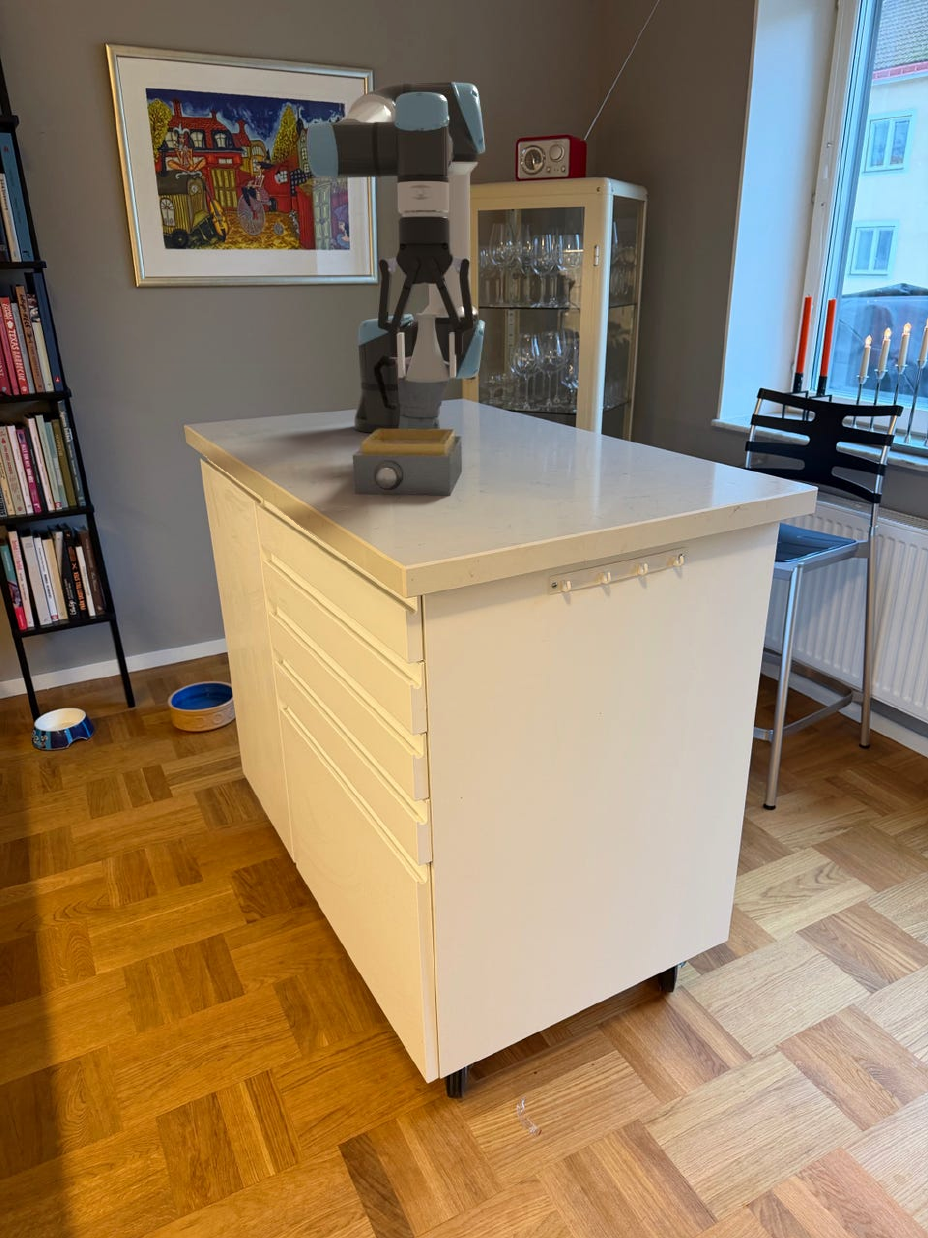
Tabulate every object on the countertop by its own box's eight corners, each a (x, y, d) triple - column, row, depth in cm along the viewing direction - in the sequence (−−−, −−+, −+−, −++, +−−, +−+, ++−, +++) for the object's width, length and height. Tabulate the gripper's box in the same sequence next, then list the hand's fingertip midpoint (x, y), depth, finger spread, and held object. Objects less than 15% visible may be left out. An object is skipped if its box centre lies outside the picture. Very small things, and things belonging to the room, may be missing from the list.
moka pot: (451, 465, 153) (450, 347, 146) (368, 462, 156) (363, 346, 149) (462, 454, 162) (461, 343, 155) (383, 451, 165) (379, 342, 157)
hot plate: (376, 469, 150) (374, 426, 147) (461, 471, 149) (461, 427, 146) (351, 497, 132) (348, 448, 129) (448, 499, 131) (447, 449, 128)
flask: (398, 379, 137) (395, 313, 133) (439, 377, 140) (438, 311, 136) (414, 385, 131) (413, 315, 127) (458, 382, 134) (457, 314, 130)
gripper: (350, 215, 124) (359, 379, 133) (491, 213, 122) (490, 379, 131) (360, 217, 131) (367, 373, 140) (493, 216, 129) (492, 373, 138)
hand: (427, 376), depth 135 cm, fingers closed on flask, 7 cm apart
